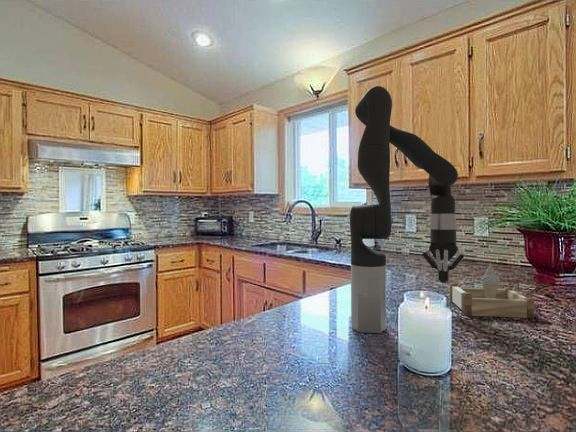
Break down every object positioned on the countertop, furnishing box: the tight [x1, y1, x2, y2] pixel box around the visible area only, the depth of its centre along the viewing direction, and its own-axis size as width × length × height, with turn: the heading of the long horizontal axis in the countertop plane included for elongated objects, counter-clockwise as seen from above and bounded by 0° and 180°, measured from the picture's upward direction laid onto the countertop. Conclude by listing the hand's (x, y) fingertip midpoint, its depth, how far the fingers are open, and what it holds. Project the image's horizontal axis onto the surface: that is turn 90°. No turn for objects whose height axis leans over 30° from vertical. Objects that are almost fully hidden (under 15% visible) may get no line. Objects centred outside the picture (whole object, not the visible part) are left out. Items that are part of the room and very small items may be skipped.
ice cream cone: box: [481, 262, 500, 299], centre depth 113 cm, size 5×5×15 cm
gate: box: [452, 286, 465, 312], centre depth 114 cm, size 11×2×5 cm, turn 171°
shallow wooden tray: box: [449, 282, 535, 319], centre depth 113 cm, size 16×19×6 cm
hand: (443, 282), depth 113 cm, fingers closed
